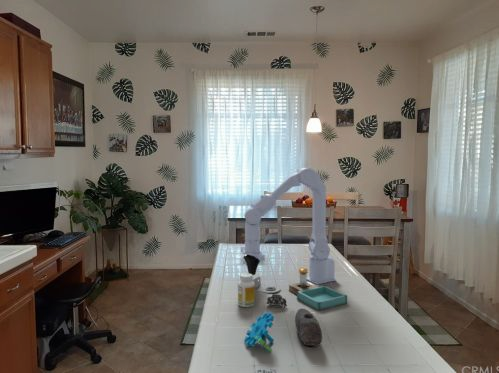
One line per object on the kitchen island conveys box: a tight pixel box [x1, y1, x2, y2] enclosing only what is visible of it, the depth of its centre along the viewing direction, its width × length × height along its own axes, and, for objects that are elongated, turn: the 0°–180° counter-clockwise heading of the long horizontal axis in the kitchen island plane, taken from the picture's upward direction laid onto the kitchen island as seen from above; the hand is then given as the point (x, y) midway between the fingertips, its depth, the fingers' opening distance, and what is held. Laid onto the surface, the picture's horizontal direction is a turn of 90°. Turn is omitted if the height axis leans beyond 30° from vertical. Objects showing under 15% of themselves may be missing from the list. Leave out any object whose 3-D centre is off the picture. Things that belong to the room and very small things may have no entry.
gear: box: [243, 311, 275, 353], centre depth 95 cm, size 11×6×10 cm
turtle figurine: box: [266, 293, 288, 309], centre depth 118 cm, size 15×7×4 cm, turn 75°
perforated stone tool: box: [294, 308, 323, 347], centre depth 99 cm, size 15×5×7 cm, turn 5°
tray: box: [296, 285, 348, 312], centre depth 124 cm, size 12×11×2 cm
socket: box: [288, 282, 317, 295], centre depth 132 cm, size 7×7×2 cm
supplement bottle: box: [237, 272, 256, 308], centre depth 121 cm, size 5×5×10 cm
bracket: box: [252, 276, 281, 294], centre depth 134 cm, size 7×10×3 cm, turn 57°
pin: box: [298, 267, 309, 288], centre depth 132 cm, size 3×3×8 cm
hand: (252, 274), depth 143 cm, fingers closed
